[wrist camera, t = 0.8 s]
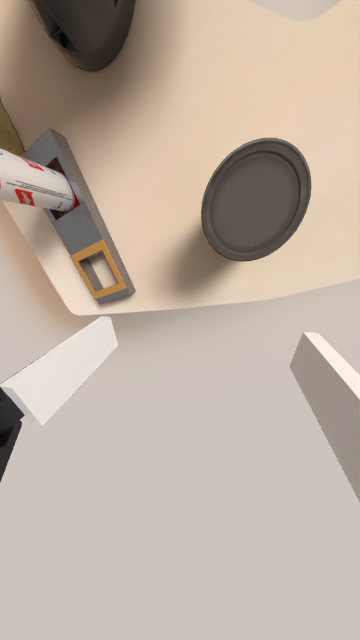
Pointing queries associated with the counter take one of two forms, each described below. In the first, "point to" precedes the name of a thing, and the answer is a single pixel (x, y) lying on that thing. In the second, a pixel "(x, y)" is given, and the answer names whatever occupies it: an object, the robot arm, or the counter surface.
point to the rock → (9, 135)
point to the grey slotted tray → (81, 220)
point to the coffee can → (256, 199)
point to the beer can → (34, 184)
